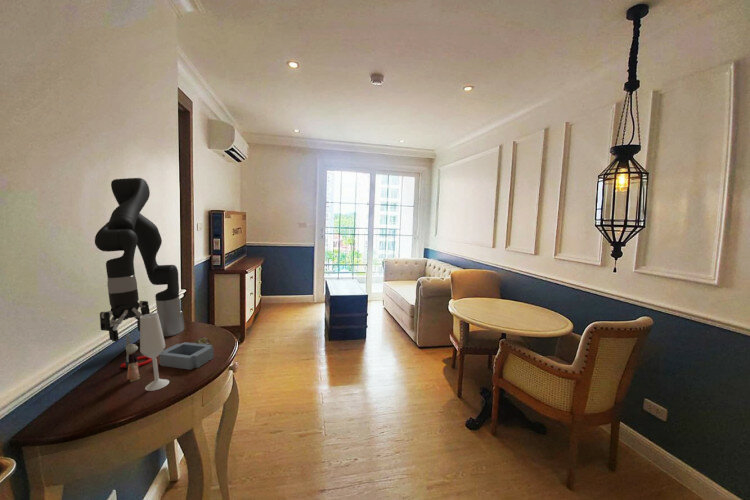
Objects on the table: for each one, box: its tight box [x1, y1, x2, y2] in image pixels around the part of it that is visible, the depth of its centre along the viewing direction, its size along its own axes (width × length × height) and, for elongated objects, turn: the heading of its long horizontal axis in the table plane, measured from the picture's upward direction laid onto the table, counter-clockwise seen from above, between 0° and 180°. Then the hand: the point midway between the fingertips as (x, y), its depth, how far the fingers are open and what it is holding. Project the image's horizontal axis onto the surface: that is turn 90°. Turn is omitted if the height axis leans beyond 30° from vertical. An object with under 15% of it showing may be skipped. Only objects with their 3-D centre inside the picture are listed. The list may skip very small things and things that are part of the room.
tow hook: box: [120, 333, 153, 369], centre depth 116 cm, size 8×13×9 cm
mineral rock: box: [193, 336, 211, 345], centre depth 129 cm, size 11×4×8 cm
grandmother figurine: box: [125, 343, 141, 383], centre depth 104 cm, size 8×4×13 cm, turn 44°
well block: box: [158, 341, 215, 371], centre depth 117 cm, size 11×17×4 cm, turn 75°
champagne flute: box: [139, 312, 170, 392], centre depth 99 cm, size 7×7×24 cm
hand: (128, 335), depth 103 cm, fingers open, 8 cm apart
